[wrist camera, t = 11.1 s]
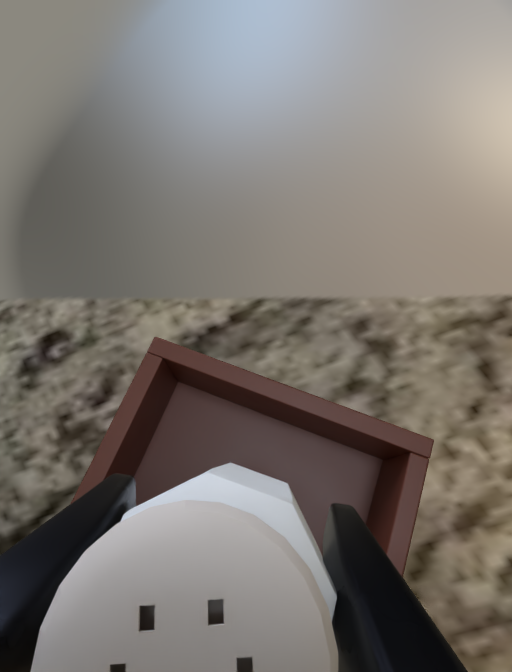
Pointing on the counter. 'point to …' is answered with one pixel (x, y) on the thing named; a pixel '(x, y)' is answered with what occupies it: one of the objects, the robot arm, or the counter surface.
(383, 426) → the bin
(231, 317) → the counter surface
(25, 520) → the counter surface
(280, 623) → the salt shaker
